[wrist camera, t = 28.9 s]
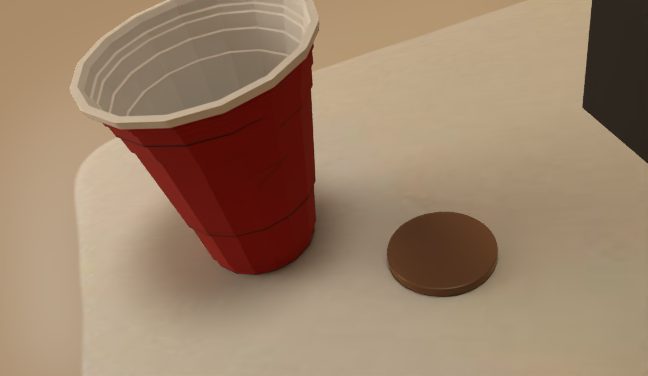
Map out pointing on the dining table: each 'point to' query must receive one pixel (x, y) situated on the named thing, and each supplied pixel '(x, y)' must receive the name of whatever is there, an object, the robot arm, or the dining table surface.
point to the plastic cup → (217, 118)
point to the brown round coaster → (442, 253)
